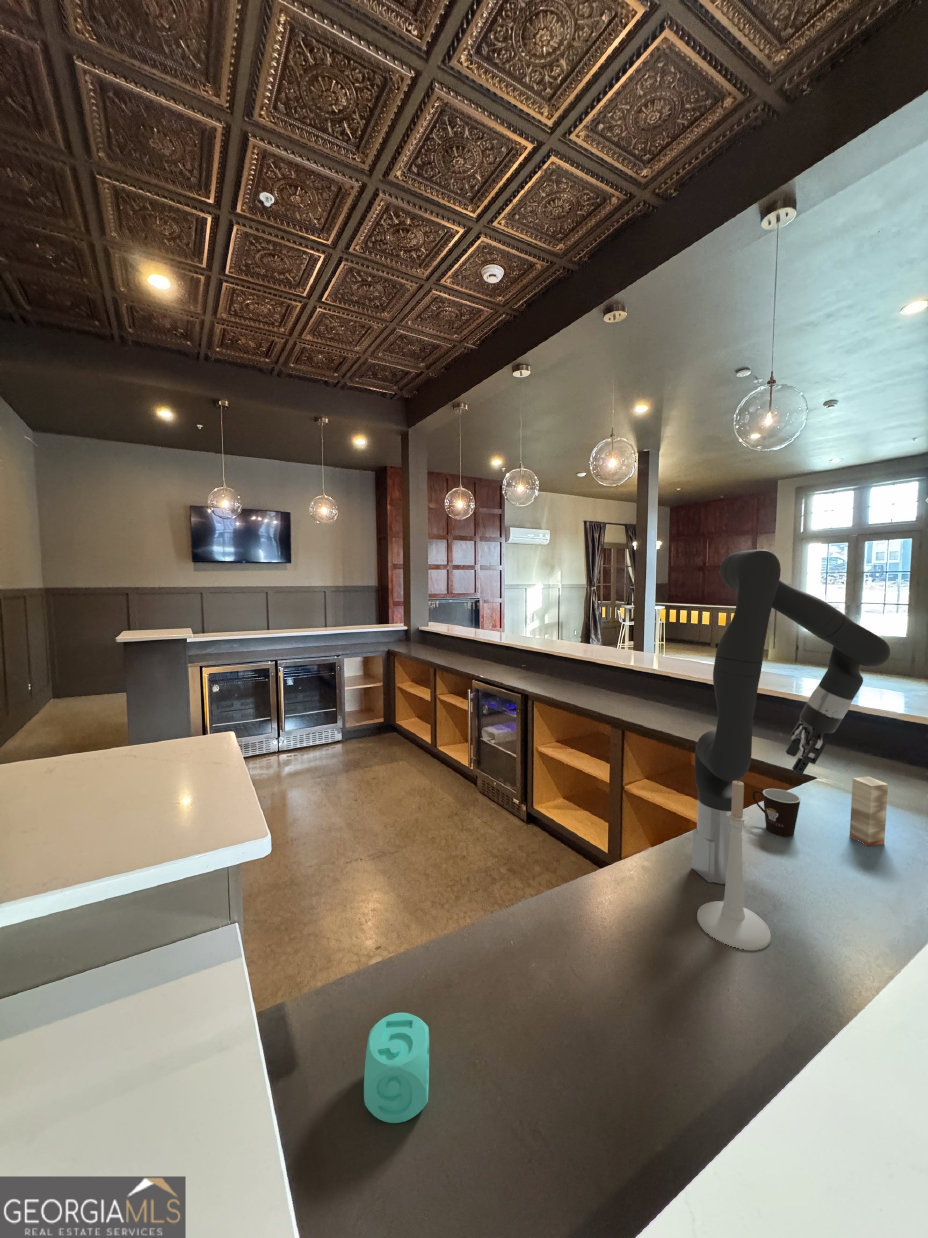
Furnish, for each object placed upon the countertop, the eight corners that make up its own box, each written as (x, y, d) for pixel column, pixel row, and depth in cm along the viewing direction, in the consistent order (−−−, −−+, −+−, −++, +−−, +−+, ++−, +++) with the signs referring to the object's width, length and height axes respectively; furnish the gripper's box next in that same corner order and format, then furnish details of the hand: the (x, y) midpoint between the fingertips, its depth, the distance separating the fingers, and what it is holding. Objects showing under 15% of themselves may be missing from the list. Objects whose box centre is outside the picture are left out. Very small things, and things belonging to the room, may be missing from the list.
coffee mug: (806, 839, 128) (808, 802, 128) (773, 839, 129) (775, 802, 128) (779, 817, 140) (780, 784, 139) (748, 817, 140) (750, 784, 139)
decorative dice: (429, 1061, 70) (428, 1010, 70) (427, 1123, 62) (426, 1066, 62) (373, 1064, 70) (372, 1012, 69) (364, 1126, 62) (362, 1068, 61)
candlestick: (782, 955, 89) (789, 797, 87) (707, 945, 92) (712, 791, 90) (755, 909, 102) (761, 769, 99) (690, 901, 104) (694, 765, 102)
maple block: (868, 846, 125) (871, 786, 124) (849, 836, 130) (852, 778, 128) (884, 844, 126) (888, 784, 124) (865, 834, 131) (868, 776, 129)
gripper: (802, 690, 123) (772, 743, 128) (815, 713, 110) (782, 771, 116) (835, 703, 120) (803, 755, 126) (853, 727, 108) (816, 785, 113)
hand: (793, 763), depth 121 cm, fingers open, 8 cm apart
